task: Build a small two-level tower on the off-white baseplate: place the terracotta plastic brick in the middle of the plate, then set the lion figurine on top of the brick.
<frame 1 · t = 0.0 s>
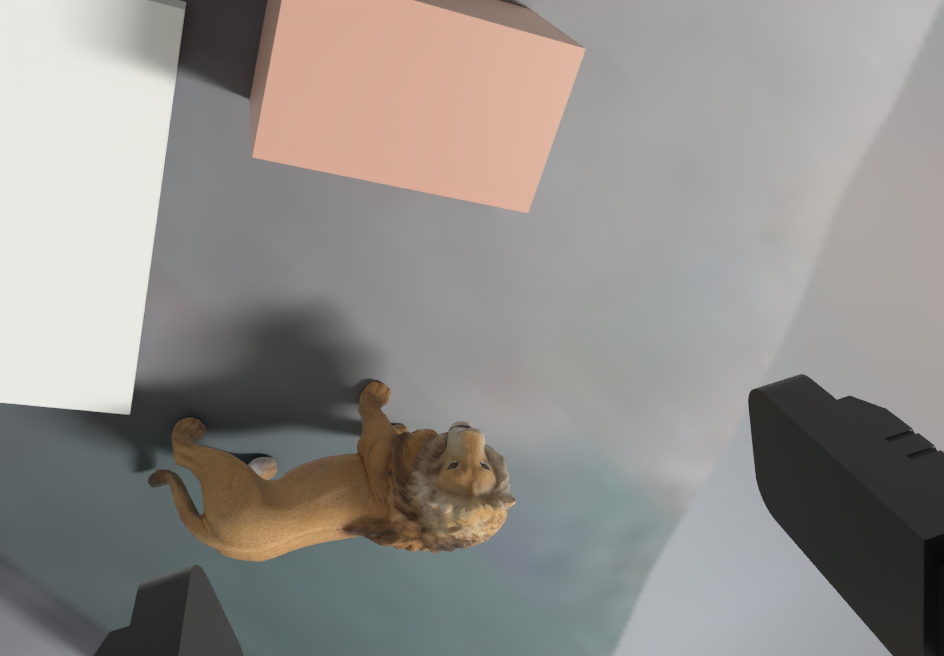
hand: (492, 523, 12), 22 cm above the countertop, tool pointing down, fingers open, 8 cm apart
terracotta brick: (391, 53, 31), on the countertop
lion figurine: (322, 413, 38), on the countertop
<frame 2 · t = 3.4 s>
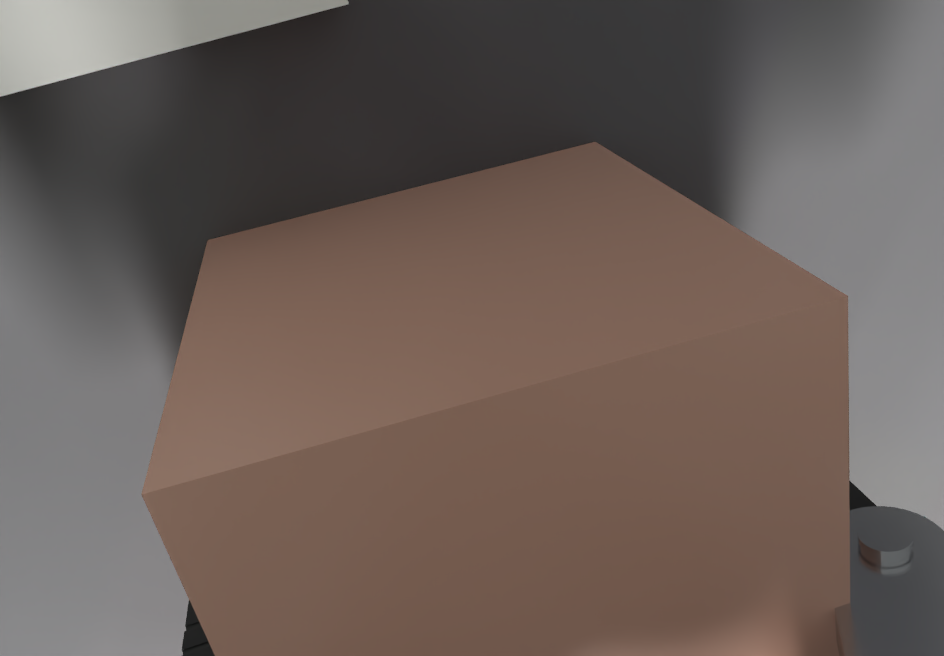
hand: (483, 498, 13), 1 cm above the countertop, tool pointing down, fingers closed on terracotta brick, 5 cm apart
terracotta brick: (470, 456, 14), on the countertop, touching gripper
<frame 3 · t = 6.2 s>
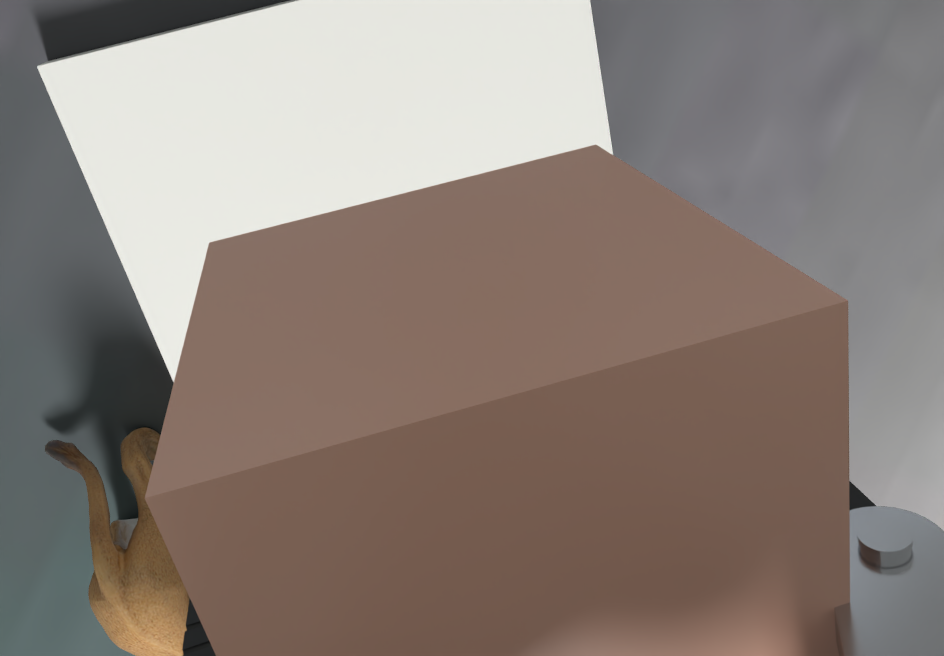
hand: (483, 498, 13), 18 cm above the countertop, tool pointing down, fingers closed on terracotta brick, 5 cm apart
baseplate: (368, 184, 28), on the countertop
terracotta brick: (470, 458, 14), point 16 cm above the countertop, touching gripper
lion figurine: (235, 541, 33), on the countertop
when the fingers open (4 cm above the countertop, at t = 9.4 s): terracotta brick drops 1 cm, resting on baseplate.
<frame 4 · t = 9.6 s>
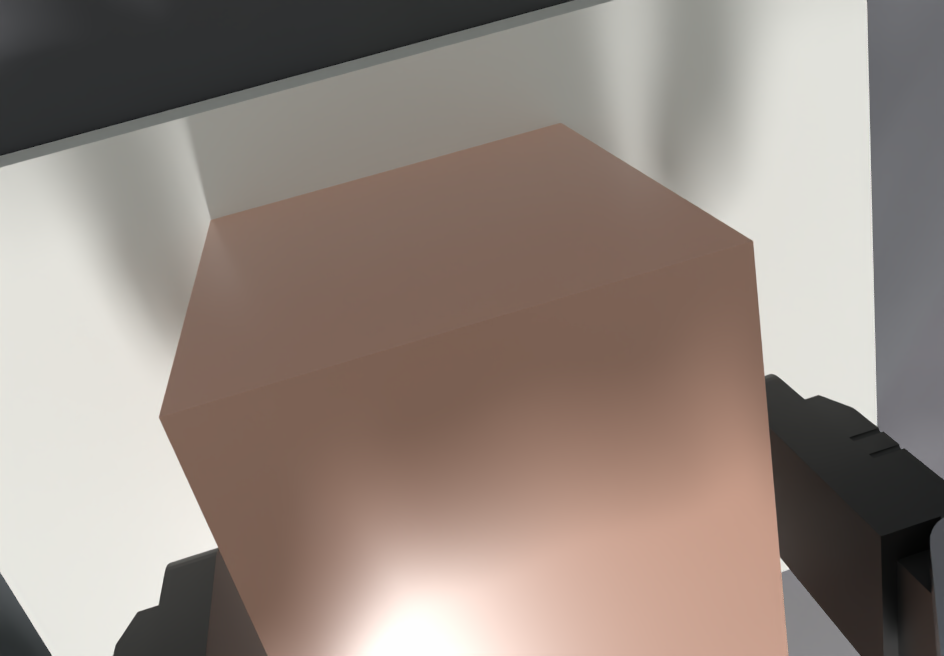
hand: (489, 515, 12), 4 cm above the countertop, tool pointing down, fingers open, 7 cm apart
baseplate: (441, 385, 16), on the countertop
terracotta brick: (456, 416, 15), point 1 cm above the countertop, touching baseplate
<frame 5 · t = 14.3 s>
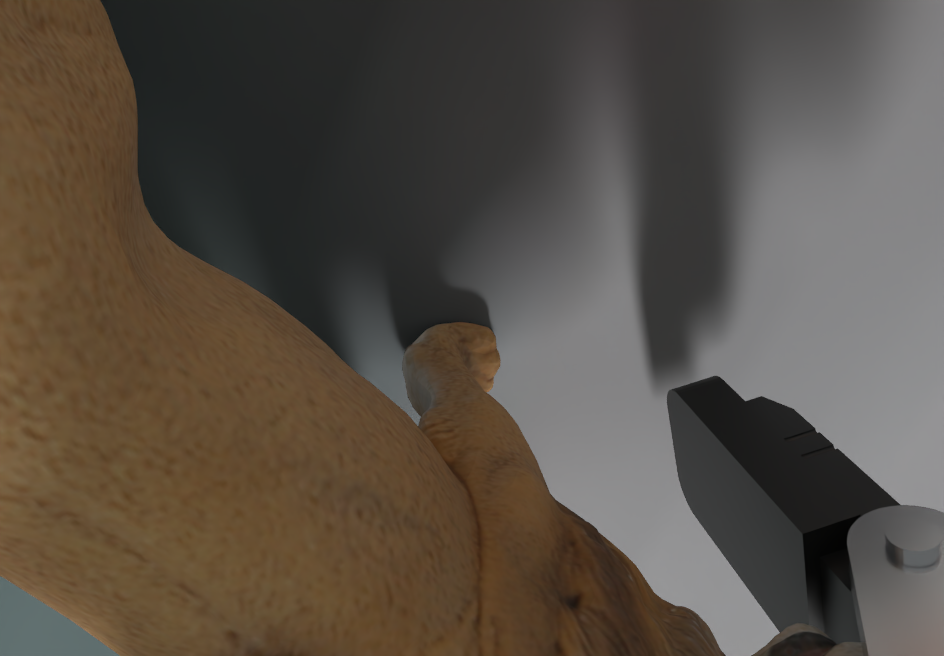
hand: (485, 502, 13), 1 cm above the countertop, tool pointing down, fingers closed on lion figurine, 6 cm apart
lion figurine: (297, 271, 12), on the countertop, touching gripper
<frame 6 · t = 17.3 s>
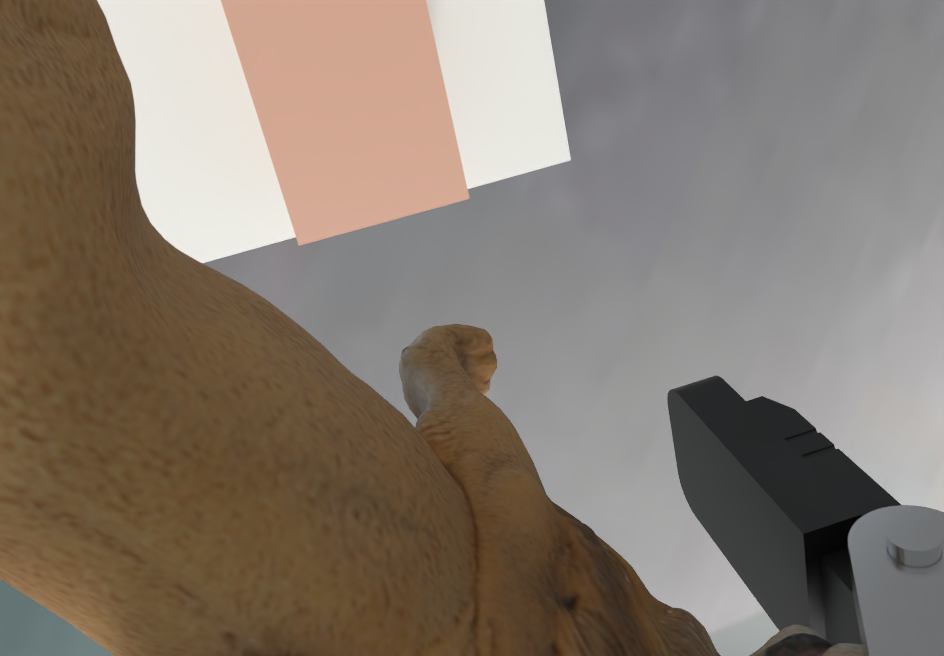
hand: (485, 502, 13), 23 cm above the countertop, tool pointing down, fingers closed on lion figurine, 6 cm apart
baseplate: (326, 52, 31), on the countertop
terracotta brick: (330, 55, 30), point 1 cm above the countertop, touching baseplate
lion figurine: (294, 273, 12), point 21 cm above the countertop, touching gripper
when the fingers open (10 cm above the countertop, at t = 20.7 s): lion figurine drops 1 cm, resting on terracotta brick.
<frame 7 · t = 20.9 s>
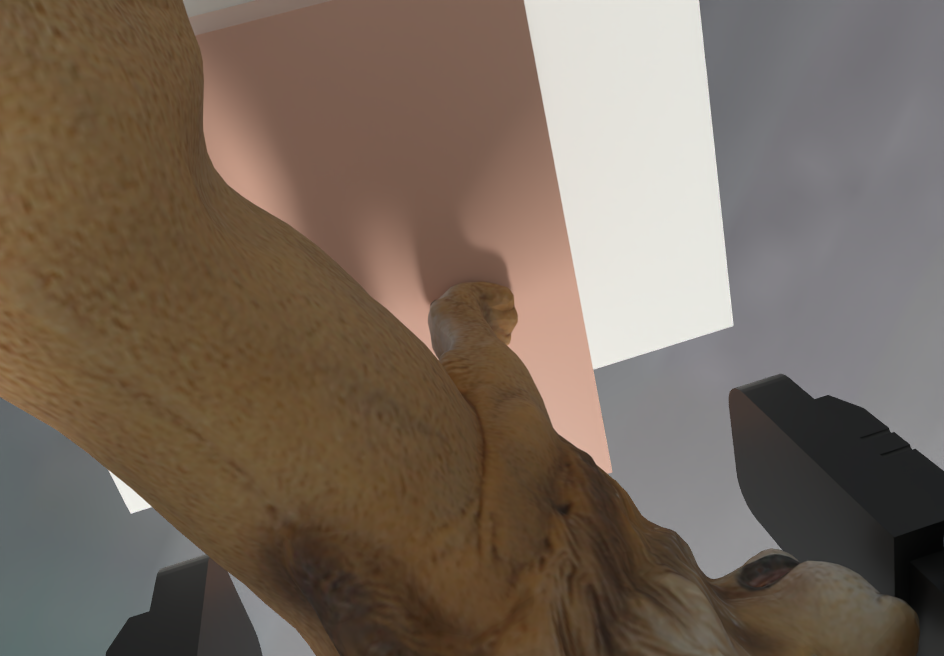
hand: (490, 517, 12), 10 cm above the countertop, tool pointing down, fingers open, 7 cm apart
baseplate: (371, 181, 20), on the countertop
terracotta brick: (380, 195, 19), point 1 cm above the countertop, touching baseplate, lion figurine
lion figurine: (335, 230, 13), point 7 cm above the countertop, touching gripper, terracotta brick
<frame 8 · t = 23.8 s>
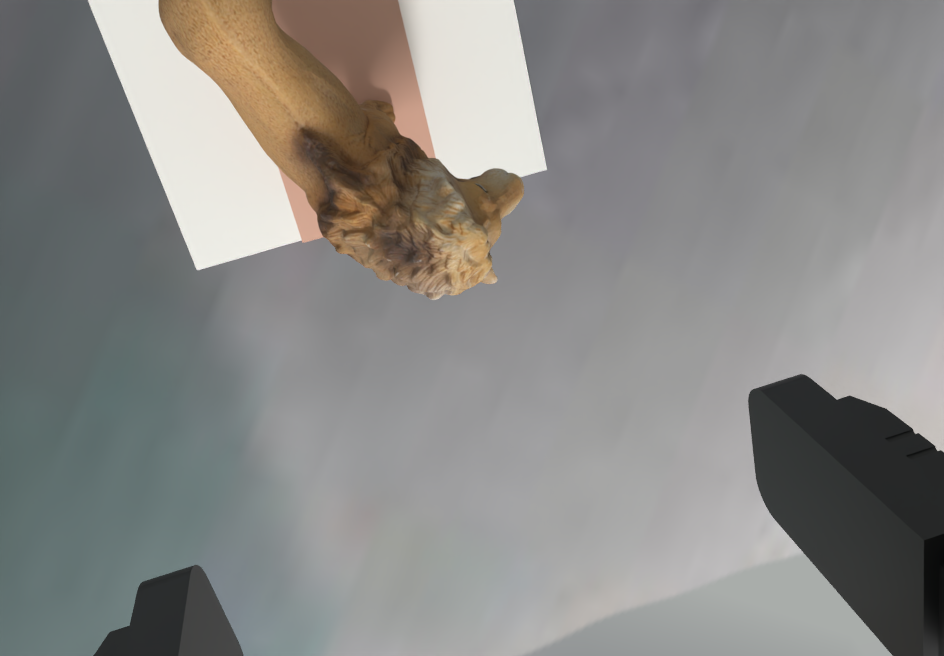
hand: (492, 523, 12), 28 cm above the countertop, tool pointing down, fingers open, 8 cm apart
baseplate: (333, 79, 36), on the countertop
terracotta brick: (332, 79, 35), point 1 cm above the countertop, touching baseplate, lion figurine
lion figurine: (310, 75, 29), point 7 cm above the countertop, touching terracotta brick
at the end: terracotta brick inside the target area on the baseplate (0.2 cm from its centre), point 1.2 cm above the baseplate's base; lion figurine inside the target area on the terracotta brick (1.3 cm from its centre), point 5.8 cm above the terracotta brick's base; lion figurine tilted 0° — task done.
